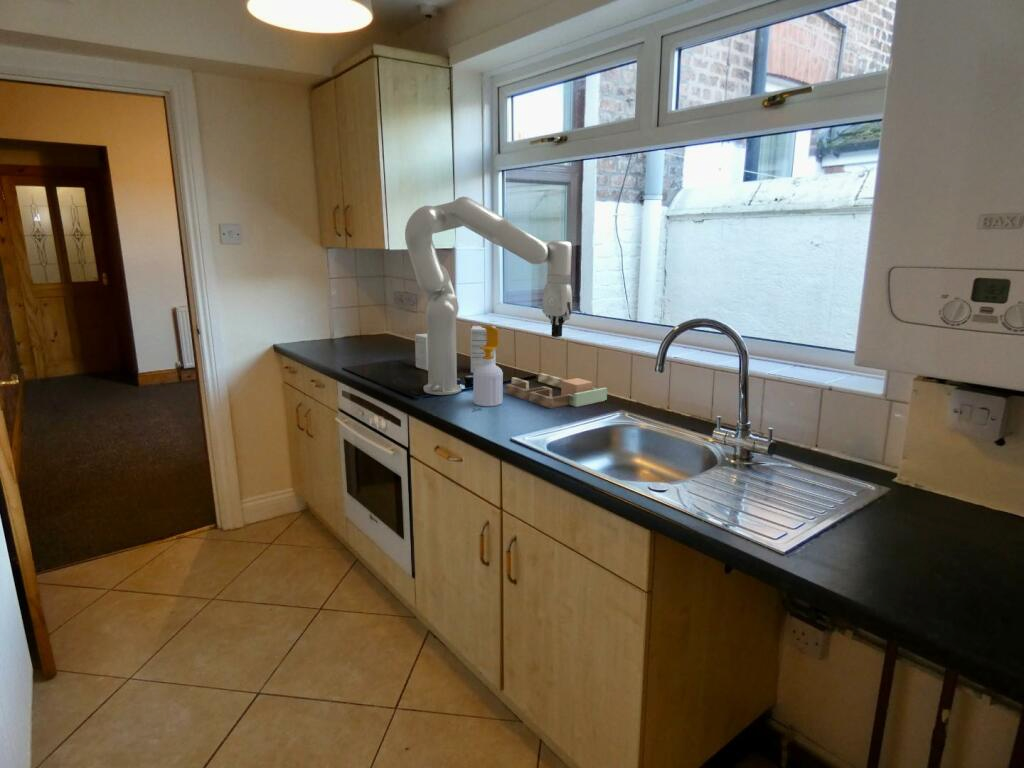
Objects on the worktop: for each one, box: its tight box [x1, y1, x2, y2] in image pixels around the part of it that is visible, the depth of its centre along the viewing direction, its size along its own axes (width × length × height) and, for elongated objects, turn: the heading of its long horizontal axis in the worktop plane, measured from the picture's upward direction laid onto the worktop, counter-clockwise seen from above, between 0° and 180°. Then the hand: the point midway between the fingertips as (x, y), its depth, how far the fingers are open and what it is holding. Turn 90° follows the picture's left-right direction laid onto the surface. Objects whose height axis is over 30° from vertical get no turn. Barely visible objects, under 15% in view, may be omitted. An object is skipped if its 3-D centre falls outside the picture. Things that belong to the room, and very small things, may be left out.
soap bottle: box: [472, 325, 504, 408], centre depth 194 cm, size 9×9×25 cm
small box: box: [414, 332, 428, 371], centre depth 244 cm, size 8×6×13 cm
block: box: [560, 377, 594, 396], centre depth 202 cm, size 7×7×6 cm
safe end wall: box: [573, 387, 608, 408], centre depth 197 cm, size 1×13×4 cm, turn 128°
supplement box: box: [470, 325, 497, 374], centre depth 240 cm, size 10×9×17 cm
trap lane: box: [505, 372, 598, 409], centre depth 208 cm, size 31×21×3 cm
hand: (556, 336), depth 206 cm, fingers closed
